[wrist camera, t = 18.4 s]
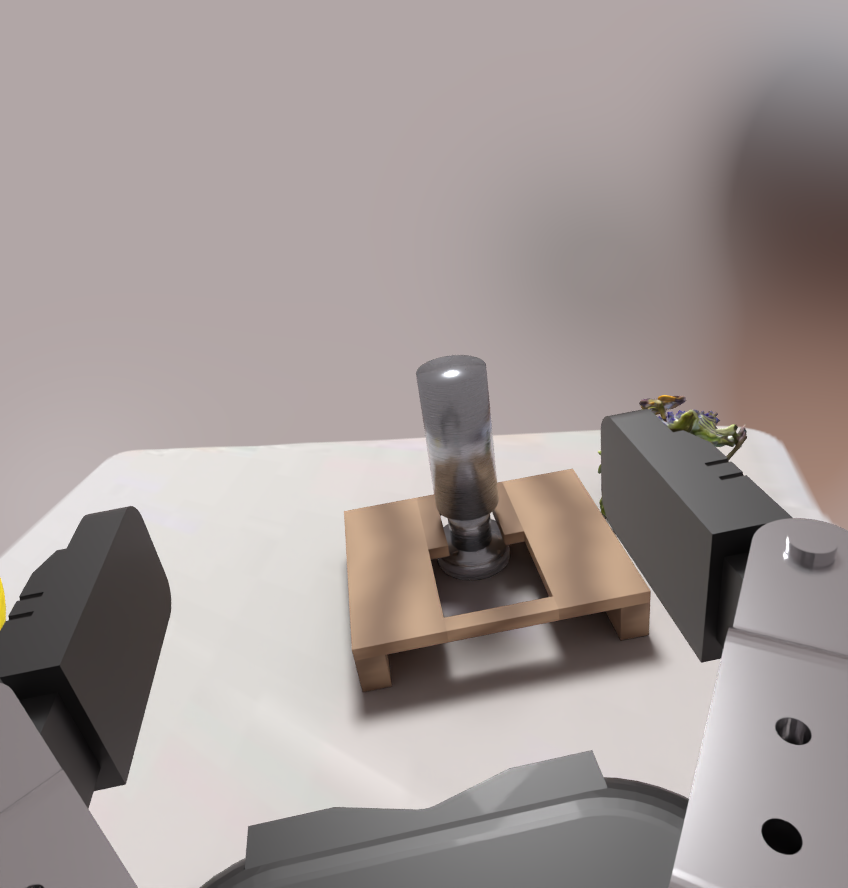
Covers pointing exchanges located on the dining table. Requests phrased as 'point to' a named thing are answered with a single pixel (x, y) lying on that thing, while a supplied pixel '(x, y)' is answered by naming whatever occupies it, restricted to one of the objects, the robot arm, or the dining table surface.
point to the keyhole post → (462, 463)
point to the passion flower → (692, 425)
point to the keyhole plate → (519, 520)
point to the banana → (2, 606)
